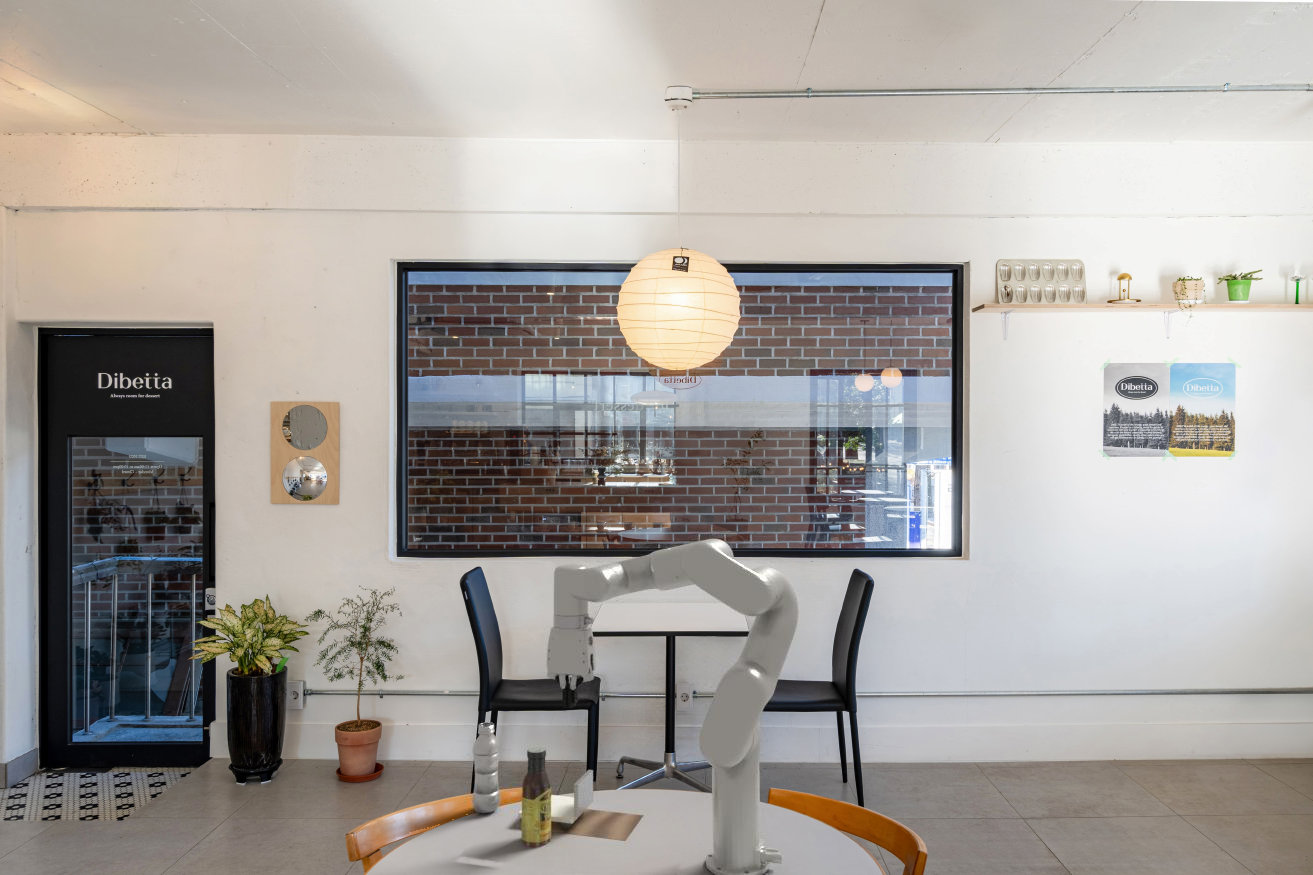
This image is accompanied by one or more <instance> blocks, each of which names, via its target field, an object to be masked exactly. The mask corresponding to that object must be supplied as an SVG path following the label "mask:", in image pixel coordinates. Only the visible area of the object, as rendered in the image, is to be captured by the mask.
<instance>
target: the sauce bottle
mask: <svg viewBox="0 0 1313 875" xmlns="http://www.w3.org/2000/svg"><path fill="white" fill-rule="evenodd" d="M526 756H527V772H526V775H525V776H524V778H523V780H522V786H521V788H522V792H521V793H522V794H521V810H522V818H521V820H522V828H521V839H522V845H523V846H526V847H528V848H540V847H544V846H546V845H548V844H549V843H550V842H551V837H552V832H551V795H552V785H551V782H550V779H549V776H548V774H547V769H546V768H547V767H546V756H547V750H546V748H545V747H542V746H534V747H530V748H528V749H527V750H526Z"/></svg>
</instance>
